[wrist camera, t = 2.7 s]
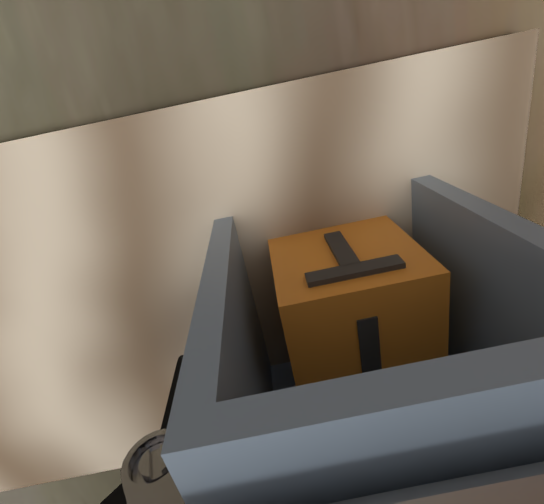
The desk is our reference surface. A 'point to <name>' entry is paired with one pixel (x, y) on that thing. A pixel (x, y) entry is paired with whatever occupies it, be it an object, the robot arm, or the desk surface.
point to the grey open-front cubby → (368, 377)
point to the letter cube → (359, 299)
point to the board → (199, 222)
